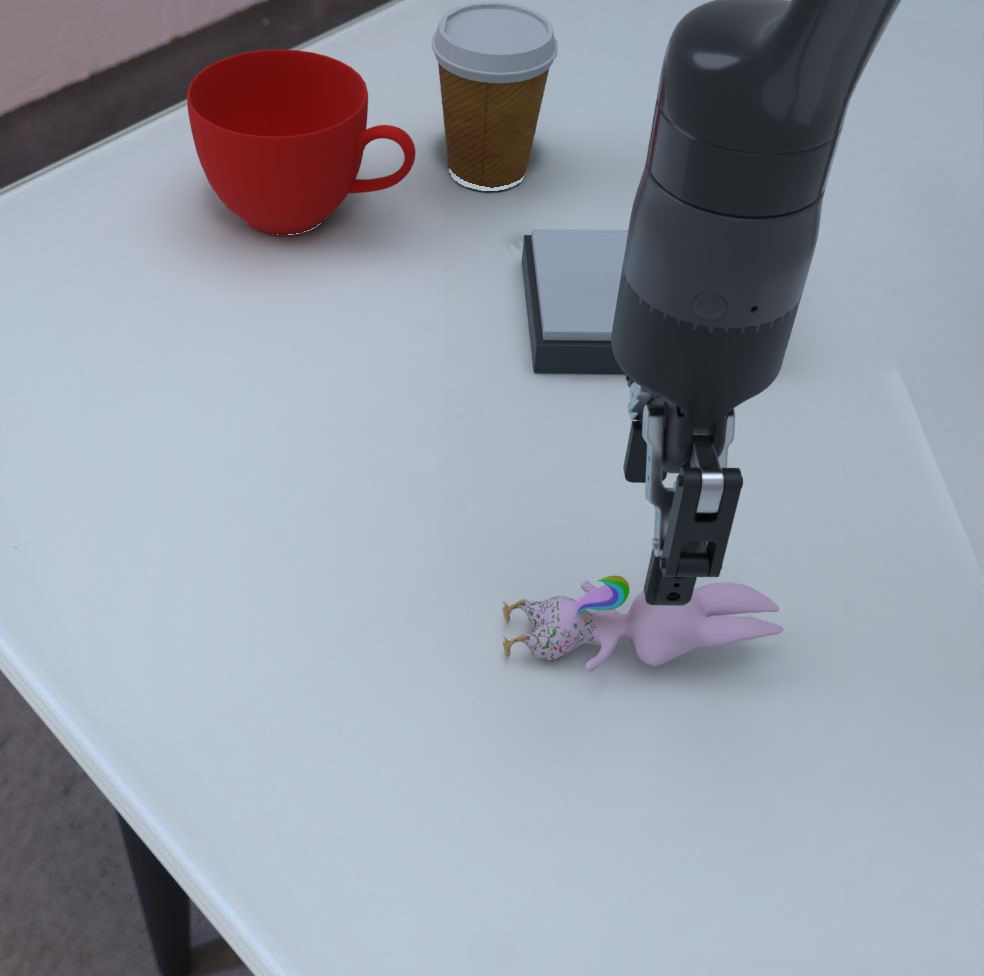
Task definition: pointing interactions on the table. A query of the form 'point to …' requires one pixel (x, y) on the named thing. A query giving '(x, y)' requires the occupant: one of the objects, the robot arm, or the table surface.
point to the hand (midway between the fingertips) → (654, 536)
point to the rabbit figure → (642, 621)
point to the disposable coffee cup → (492, 87)
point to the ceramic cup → (285, 136)
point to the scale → (572, 298)
